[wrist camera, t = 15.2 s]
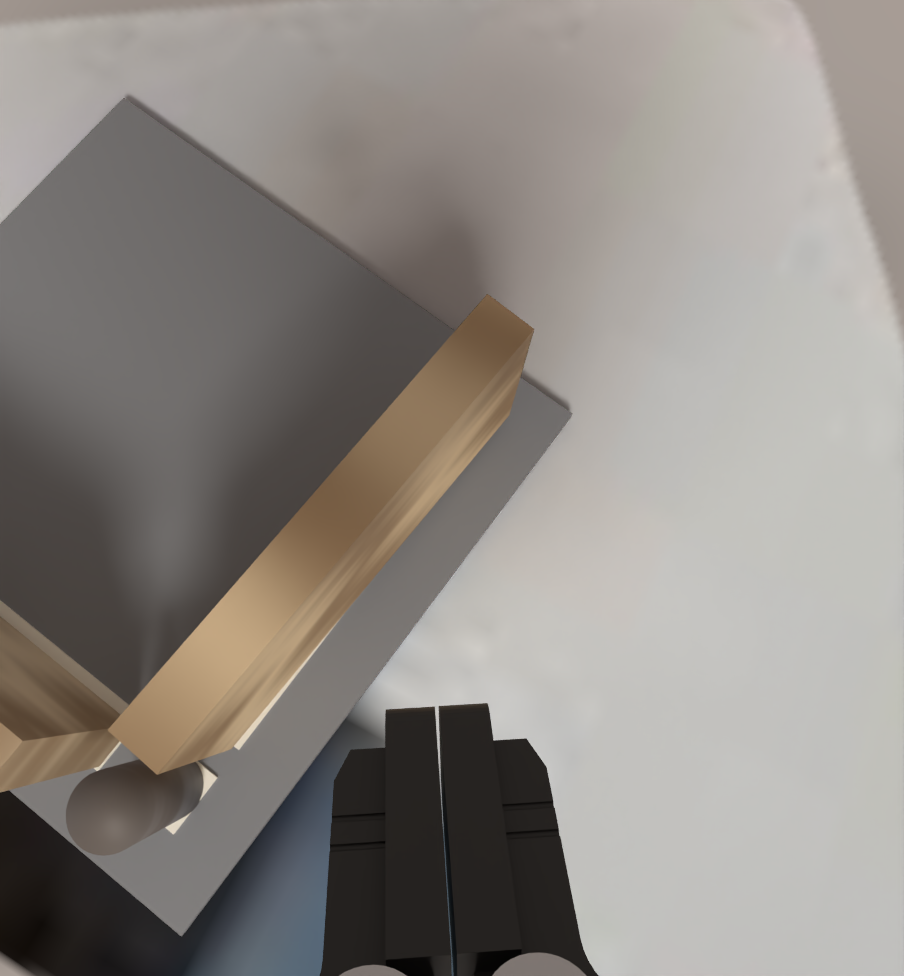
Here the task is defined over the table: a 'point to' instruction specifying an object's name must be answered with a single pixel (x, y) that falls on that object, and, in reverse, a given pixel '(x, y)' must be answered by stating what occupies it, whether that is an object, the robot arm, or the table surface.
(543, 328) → the table surface
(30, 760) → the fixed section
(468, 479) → the card
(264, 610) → the folding section
